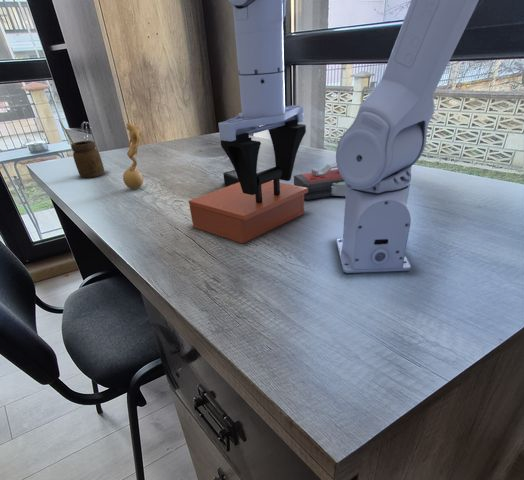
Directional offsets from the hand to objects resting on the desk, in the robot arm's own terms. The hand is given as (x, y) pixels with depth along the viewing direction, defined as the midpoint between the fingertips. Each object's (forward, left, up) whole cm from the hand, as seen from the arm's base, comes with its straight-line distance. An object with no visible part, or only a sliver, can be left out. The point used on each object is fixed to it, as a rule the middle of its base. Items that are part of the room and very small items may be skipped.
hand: (267, 186), depth 57 cm
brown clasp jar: (+38, +44, -6) cm, 59 cm away
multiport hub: (+21, +5, -6) cm, 22 cm away
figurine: (+25, +28, -6) cm, 38 cm away
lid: (+3, +3, -2) cm, 5 cm away
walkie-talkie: (+16, -14, -6) cm, 22 cm away
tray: (+3, +3, -6) cm, 8 cm away
